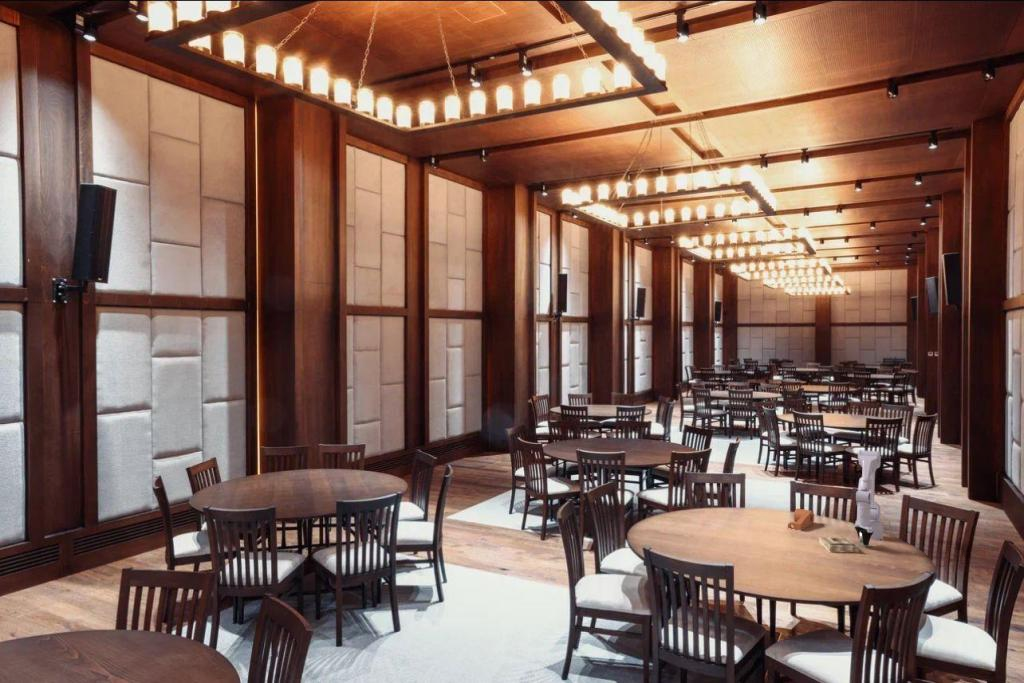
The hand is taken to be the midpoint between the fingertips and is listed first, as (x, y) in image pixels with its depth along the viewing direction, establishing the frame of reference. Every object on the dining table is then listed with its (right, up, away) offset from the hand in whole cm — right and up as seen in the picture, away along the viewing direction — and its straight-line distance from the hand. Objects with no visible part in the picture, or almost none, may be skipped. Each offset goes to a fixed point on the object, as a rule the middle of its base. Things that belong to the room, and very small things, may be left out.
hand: (863, 543), depth 333 cm
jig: (-13, -2, -2) cm, 13 cm away
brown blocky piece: (-16, -2, +36) cm, 40 cm away
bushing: (0, -2, 0) cm, 2 cm away
